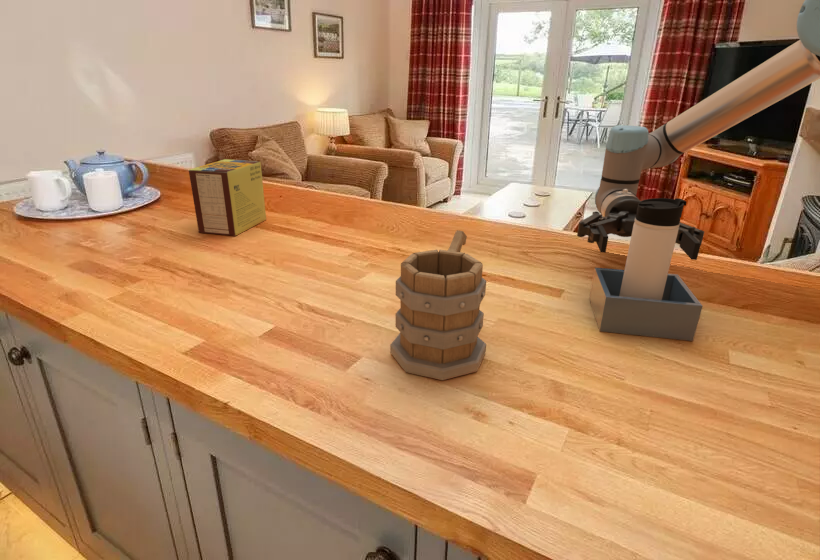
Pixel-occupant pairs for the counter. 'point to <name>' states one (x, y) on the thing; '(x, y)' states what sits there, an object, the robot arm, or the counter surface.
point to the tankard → (440, 313)
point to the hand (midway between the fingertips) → (649, 248)
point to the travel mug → (651, 247)
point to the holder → (644, 308)
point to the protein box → (228, 196)
